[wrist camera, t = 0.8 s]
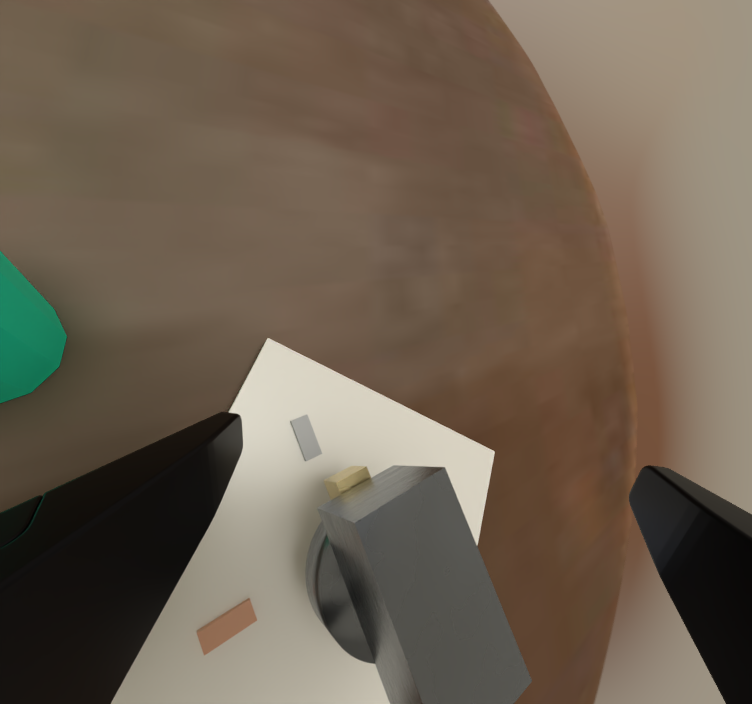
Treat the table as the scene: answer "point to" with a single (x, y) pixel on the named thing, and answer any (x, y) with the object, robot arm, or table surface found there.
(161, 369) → the table surface
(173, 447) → the robot arm
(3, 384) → the candle
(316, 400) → the post plate
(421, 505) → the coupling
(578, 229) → the table surface
